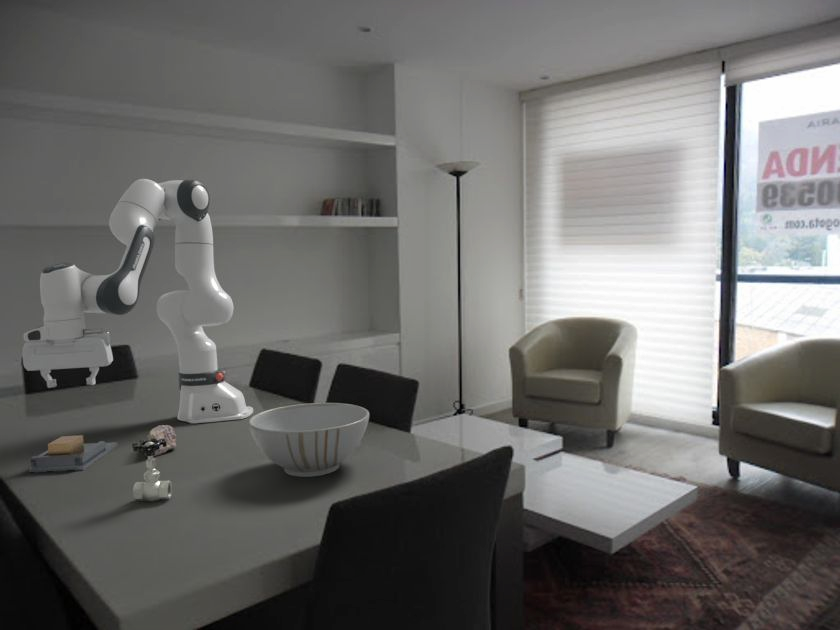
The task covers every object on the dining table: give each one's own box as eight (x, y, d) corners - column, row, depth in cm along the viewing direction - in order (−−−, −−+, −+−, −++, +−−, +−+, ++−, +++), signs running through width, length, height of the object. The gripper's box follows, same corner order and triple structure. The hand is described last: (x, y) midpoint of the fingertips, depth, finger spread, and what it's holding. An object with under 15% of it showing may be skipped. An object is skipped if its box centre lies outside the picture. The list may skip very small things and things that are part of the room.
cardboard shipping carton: (84, 455, 165) (82, 435, 164) (71, 463, 158) (69, 443, 157) (63, 456, 165) (62, 436, 164) (49, 465, 158) (47, 444, 157)
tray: (117, 445, 176) (116, 432, 176) (83, 470, 156) (82, 455, 156) (69, 448, 175) (68, 435, 175) (29, 472, 155) (27, 458, 155)
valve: (141, 495, 137) (137, 438, 136) (174, 493, 138) (171, 436, 137) (130, 507, 131) (126, 447, 130) (165, 505, 131) (161, 445, 130)
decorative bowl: (318, 496, 133) (315, 437, 132) (225, 477, 148) (222, 423, 147) (394, 459, 156) (392, 408, 155) (307, 445, 170) (304, 398, 169)
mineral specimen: (176, 456, 165) (174, 431, 165) (145, 459, 163) (143, 434, 162) (177, 443, 177) (175, 420, 177) (148, 446, 175) (146, 423, 174)
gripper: (113, 326, 167) (119, 380, 169) (29, 331, 166) (36, 385, 168) (103, 329, 161) (109, 386, 163) (16, 334, 160) (23, 391, 162)
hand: (71, 385), depth 165 cm, fingers open, 8 cm apart
